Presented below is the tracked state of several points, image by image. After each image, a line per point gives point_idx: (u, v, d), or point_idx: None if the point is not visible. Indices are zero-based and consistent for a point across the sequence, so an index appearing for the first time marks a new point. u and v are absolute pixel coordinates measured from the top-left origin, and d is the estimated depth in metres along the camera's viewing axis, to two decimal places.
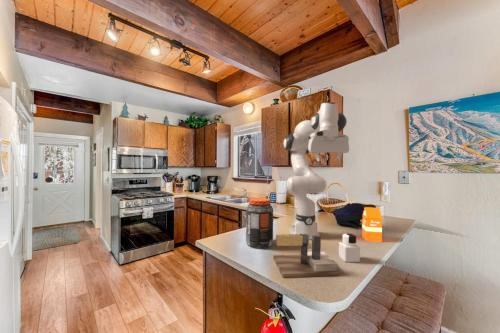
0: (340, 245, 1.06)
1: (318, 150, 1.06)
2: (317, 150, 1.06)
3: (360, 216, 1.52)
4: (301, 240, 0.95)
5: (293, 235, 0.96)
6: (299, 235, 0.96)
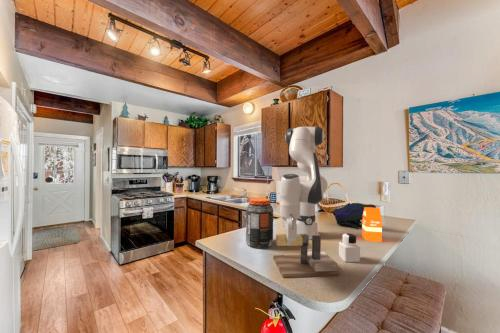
0: (340, 245, 1.06)
1: None
2: None
3: (360, 216, 1.52)
4: (301, 240, 0.95)
5: None
6: (299, 235, 0.96)
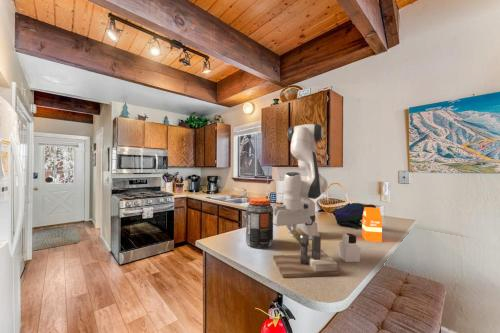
0: (340, 245, 1.06)
1: None
2: None
3: (360, 216, 1.52)
4: (299, 237, 0.98)
5: (300, 231, 1.01)
6: (301, 233, 0.99)
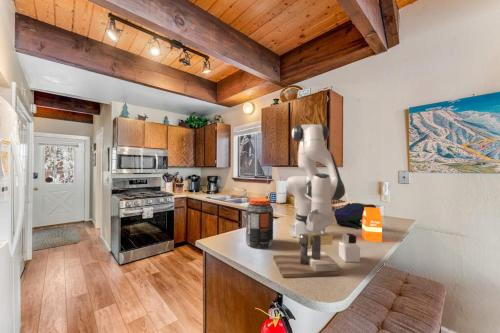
0: (340, 245, 1.06)
1: None
2: None
3: (360, 216, 1.52)
4: None
5: (314, 234, 0.97)
6: (308, 234, 0.97)
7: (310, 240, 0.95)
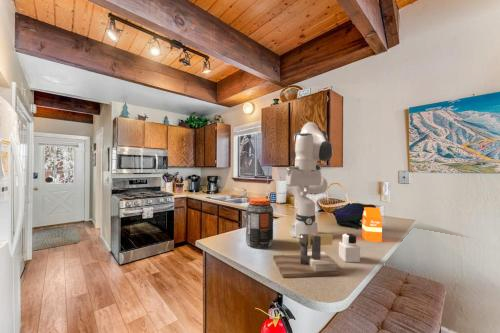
0: (340, 245, 1.06)
1: None
2: None
3: (360, 216, 1.52)
4: None
5: (314, 234, 0.97)
6: (308, 234, 0.97)
7: (310, 240, 0.95)
